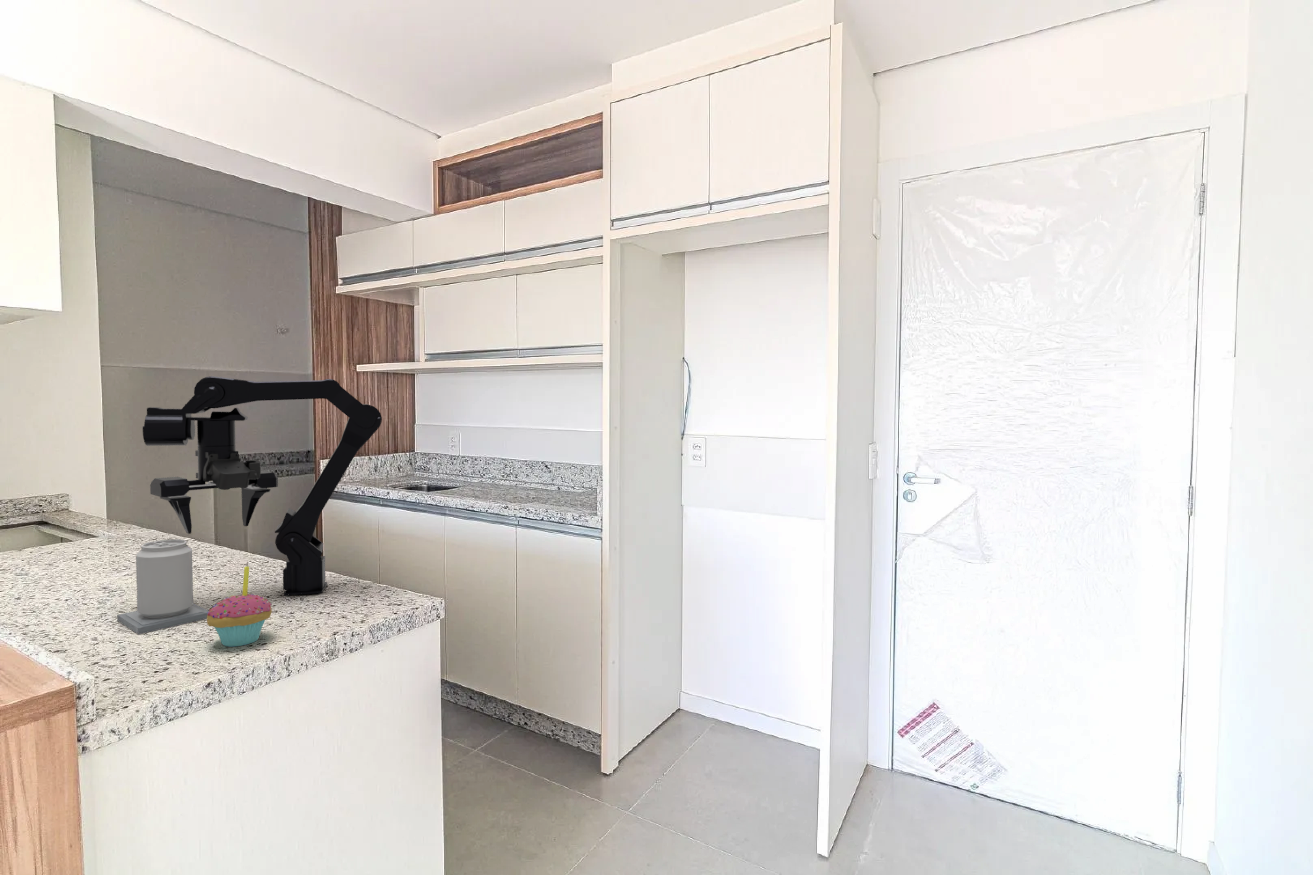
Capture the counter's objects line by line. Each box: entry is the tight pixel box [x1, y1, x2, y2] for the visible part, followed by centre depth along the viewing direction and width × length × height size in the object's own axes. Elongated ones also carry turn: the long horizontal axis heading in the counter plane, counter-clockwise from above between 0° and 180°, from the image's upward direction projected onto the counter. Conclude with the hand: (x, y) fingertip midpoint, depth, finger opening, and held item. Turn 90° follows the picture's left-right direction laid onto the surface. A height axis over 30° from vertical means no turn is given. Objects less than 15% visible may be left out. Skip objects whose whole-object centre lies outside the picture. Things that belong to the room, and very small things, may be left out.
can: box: [135, 538, 194, 618], centre depth 107 cm, size 8×8×12 cm
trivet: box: [116, 602, 210, 635], centre depth 107 cm, size 10×10×1 cm
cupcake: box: [206, 560, 273, 648], centre depth 98 cm, size 9×8×12 cm
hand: (218, 529), depth 118 cm, fingers open, 9 cm apart
